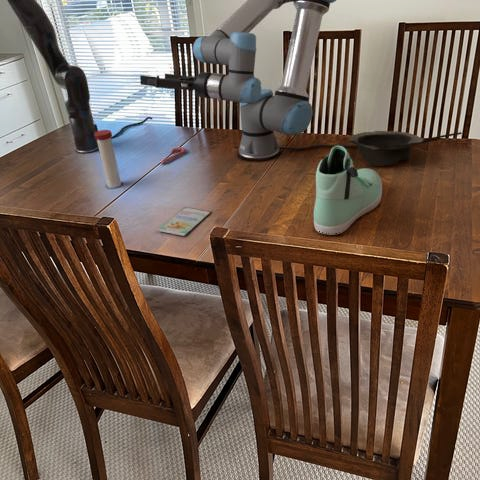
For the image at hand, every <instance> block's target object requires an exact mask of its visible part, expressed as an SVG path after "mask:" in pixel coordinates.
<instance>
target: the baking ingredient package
mask: <svg viewBox="0 0 480 480" xmlns="http://www.w3.org/2000/svg"><path fill="white" fill-rule="evenodd" d="M210 213H211V211H205V210H201V209H194V208H190V207H184V208H183V209H181V211H179V212H177V214H175V215H174V216H173V217H172V218H170V219H169V220H168V221H167V222H166V223H164V224H163V225H161V227H159V228H158V229H157V231H158V232H161V233H162V232H163V233H168V234H172V235H178V236H182V237H184V236H186V235H187V234H188V233H189V232H190V231H192V229H193V228H195V227H196V226H197V225H198V224H199V223H200V222H202V220H203V219H204V218H206V217H207V216H208V215H209V214H210Z"/></svg>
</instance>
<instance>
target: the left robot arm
mask: <svg viewBox="0 0 480 480" xmlns="http://www.w3.org/2000/svg"><path fill="white" fill-rule="evenodd" d="M6 1H7V3H8V5H9V6H10V7H11V10H12V11H13V12H14V14H15V16H16V18H17V19H18V21H19V23H20V24H21V26H22V27H23V29H24V31H25V33H26V34H27V35H28V37H29V38H30V40H31V42H32V43H33V45H34V46H35V48H36V49H37V51H38V52H39V54H40V55H41V57H42V59H43V60H44V62H45V64H46V65H47V67H48V70H49V72H50V73H51V76H52V78H53V80H54V82H55V83H56V85H58V86H59V88H60V89H63V90H65V91H66V96H67V100H65V102H64V106H65V110H66V114H67V115H66V116H67V118H68V122H69V126H70V130H71V133H72V137H73V142H74V147H75V148H76V149H75V150H76V152H77V153H80V154H87V153H92V152H96V151H97V150H98V151H99V147H98V143H97V139H95V136H94V133H95V132H97V131H99V129H98V125H97V123H95V121H94V116H93V113H92V108H91V104H90V102H91V101H90V100H91V94H90V89H89V84H88V78H87V75H86V73H85V71H84V70H83V69H82V68H81V67H79V66H77V65H72V64H70V63H69V61H67V59H66V58H65V56H64V55H63V53H62V51H61V49H60V46H59V43H58V37H57V33H56V30H55V27H54V25H53V23H52V21H51V19H50V18H49V16H48V14H47V13H46V11H45V10H44V9H43V7H42V6H41V5H40V4H39V3H38V2H37V0H6ZM148 120H153V117H151V116H147V117H146V118H144V119H143V120H142V121H139V122H135V123H131V124H127V125H125V126H123V127H122V128H121V129H120V130H119V131H117V132H116V134H114V135H112V137H111V139H112V140H113V139H114V138H116V137H118V136H119V135H120V134H122V133H123V131H124V130H126V129H128V128H131V127H136V126H139V125H142V124H144V123H146V122H147V121H148Z"/></svg>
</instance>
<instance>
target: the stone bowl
mask: <svg viewBox="0 0 480 480" xmlns="http://www.w3.org/2000/svg"><path fill="white" fill-rule="evenodd" d="M423 139H424V138H422V137H421V136H418V135H417V134H413V133H410V132H406V131H405V132H404V131H396V130H388V131H387V130H374V131H363V132H359V133H356V134H352V135H350V136H349V139H348V143H351V144H352V145H358V148H357V151H358V154H360V155H361V157H362V158H363V159H365V160H367V165H368V166H371V167H386V166H395V165H397V164H398V162H399V161H408V159H409V158H410V154H411V147H414V146H416V145H419V144H421V143H423V142H426V141H425V140H424V141H422V140H423Z"/></svg>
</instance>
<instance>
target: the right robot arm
mask: <svg viewBox="0 0 480 480" xmlns="http://www.w3.org/2000/svg"><path fill="white" fill-rule="evenodd" d="M336 1H337V0H246V1H245V2H244V3H242V5H241V6H240V7H238V8H237V10H235V11H234V13H231V15H230V16H229V17H228V18H227V19H226V20H225V21H224V22H223V23H221V24H220V25H219V27H217V28H216V29H215V30H214V31H213V32H212V33H211V34H210V35H208V36H200V37H197V38H196V39H195V41H194V42H193V48H192V51H193V55H194V57H195V59H196V60H197V61H198V62H201V63H205V64H207V65H208V64H211V65H220V66H227V67H228V74H226V73H217V72H213V73H212V72H206V71H201V72H199V73H198V74H197V76H193V75H183V74H181V75H180V74H174V73H173V74H172V73H164V77H163V78H162V77H160V75H156V76H150V75H144V74H143V75H140V76H139V78H140V79H139V80H140V85H141V86H147V87H155V88H156V89H160V88H161V89H173V90H183V91H184V90H185V91H189V92H192V91H195V94H196V96H198V97H199V98H204V99H212V100H217V102H219V103H220V102H222V101H225V102H233V103H239V109H240V120H241V133H242V134H241V139H240V142H239V147H238V157H240V158H241V159H243V160H246V161H250V162H262V161H268V160H272V159H275V158H276V157H278V156H279V155H280V150H286V151H287V150H292V151H303V150H304V151H305V150H308V149H309V150H310V149H315V148H333V147H334V146H342V147H344V148H345V149H348V148H349V149H353V148H354V149H356V148H357V149H358V145H356V144H352V145H348V144H347V145H346V144H345V145H342V144H341V145H340V144H339V145H337V144H316V145H309V146H304V147H289V146H288V147H287V146H286V147H285V146H279V143H278V140H277V138H276V135H275V133H279V134H283V135H286V136H300V135H301V134H303V133H304V132H305V131H306V130H307V129H308V127H309V126H310V124H311V122H312V118H313V115H314V113H313V107H312V106H313V105H312V104H311V103H310V102H309V99H310V96H309V94H308V93H307V88H308V83H309V79H310V75H311V69H312V65H313V61H314V58H315V57H314V56H315V51H316V47H317V43H318V38H319V34H320V29H321V25H322V21H323V16H324V15H325V14H327V13H328V12H329V10H330V5H331V4H333V3H335V2H336ZM287 3H292V4H293V7H294V8H295V10H296V12H295V16H294V17H295V18H294V22H293V25H292V26H293V27H292V32H291V37H290V40H289V41H290V42H289V45H288V50H287V55H286V60H285V63H284V69H283V73H282V74H283V75H282V79H281V85H280V87H278V88H276V89H275V91H274V92H273V90H272V89H268V88H263V89H262V81H261V80H260V79H259V78H258V77H256V76H255V63H256V53H257V36H256V34H254V33H252V31H253V29H254V28H256V27H257V26H258V25H259V24H260V23H261V22H262V21H263V20H264V19H265V18H266V17H267V16H268V15H269V14H270V13H271V12H272V11H273V10H278V9H280V8H281V7H282V6H283V5H285V4H287ZM460 135H462V131H458V132H454V133H448V134H442V135H437V136H432V137H427V138H422V139H423V140H422V141H423V142H427V141H433V140H438V139H442V138H447V137H455V136H460ZM424 140H425V141H424Z"/></svg>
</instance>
